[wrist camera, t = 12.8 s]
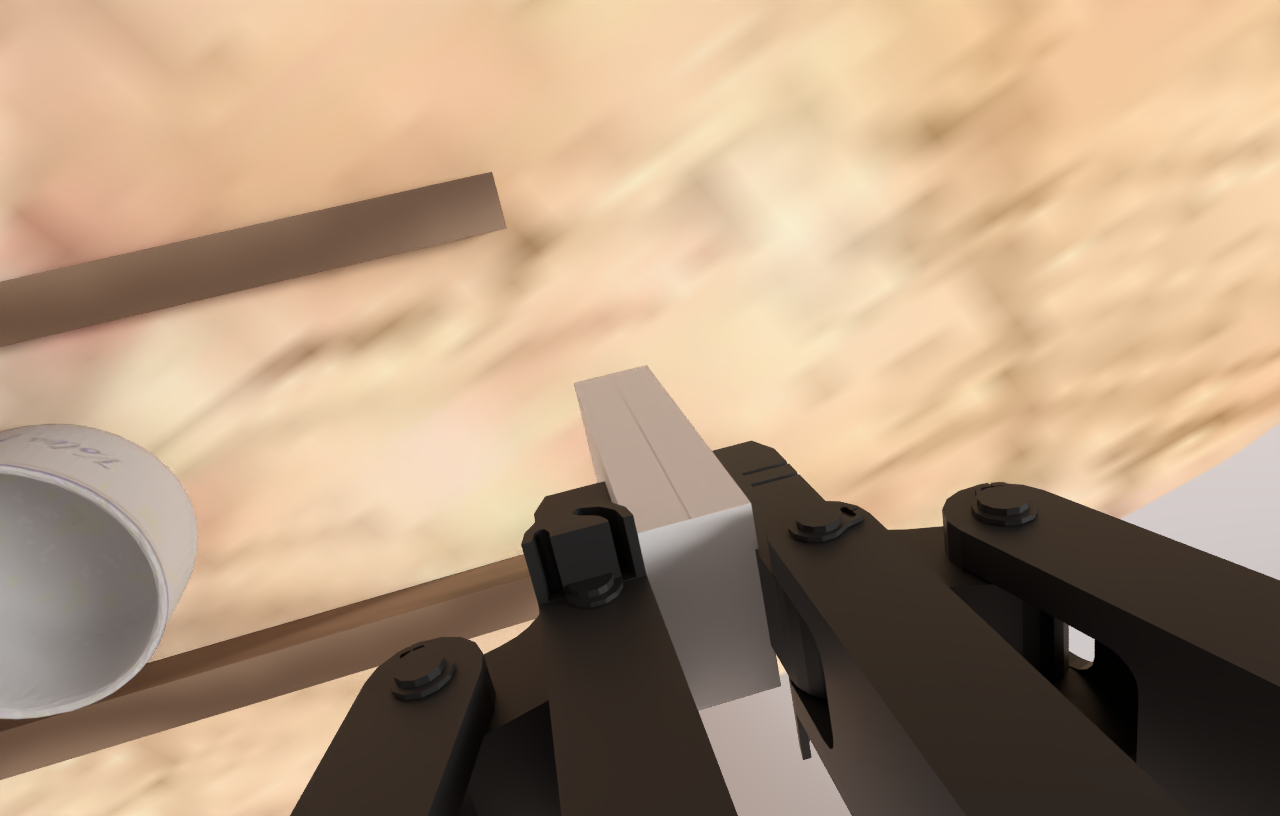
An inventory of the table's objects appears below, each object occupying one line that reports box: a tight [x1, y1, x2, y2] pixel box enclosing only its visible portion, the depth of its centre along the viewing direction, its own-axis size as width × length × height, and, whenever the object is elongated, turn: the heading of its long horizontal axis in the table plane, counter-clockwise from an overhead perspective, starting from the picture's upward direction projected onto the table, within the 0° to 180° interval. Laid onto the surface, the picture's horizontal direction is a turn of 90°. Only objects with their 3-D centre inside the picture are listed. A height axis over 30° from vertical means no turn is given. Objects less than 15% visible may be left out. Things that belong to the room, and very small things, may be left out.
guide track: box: [0, 172, 539, 780], centre depth 34 cm, size 22×32×5 cm
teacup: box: [0, 424, 198, 719], centre depth 32 cm, size 14×11×8 cm
